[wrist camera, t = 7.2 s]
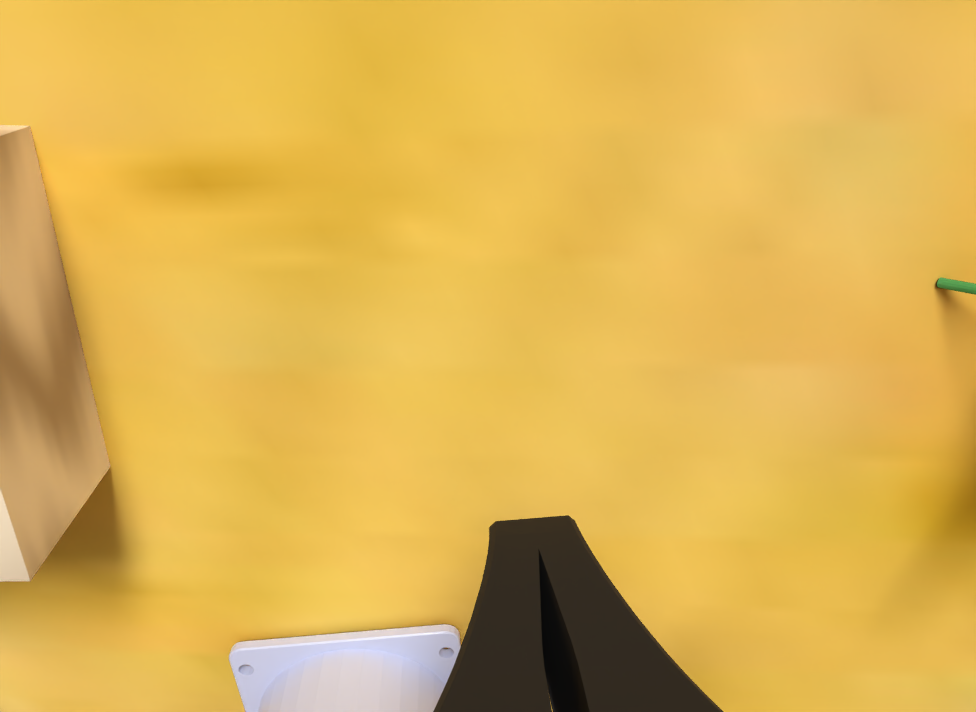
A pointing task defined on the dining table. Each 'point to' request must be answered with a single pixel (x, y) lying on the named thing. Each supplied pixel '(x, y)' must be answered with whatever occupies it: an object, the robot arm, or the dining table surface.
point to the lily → (956, 285)
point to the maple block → (38, 375)
